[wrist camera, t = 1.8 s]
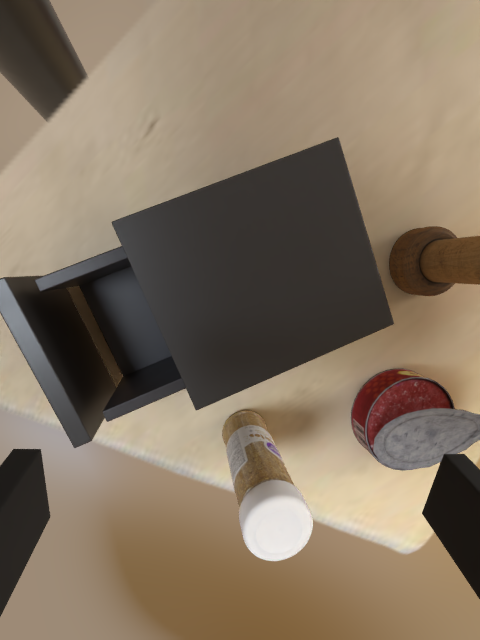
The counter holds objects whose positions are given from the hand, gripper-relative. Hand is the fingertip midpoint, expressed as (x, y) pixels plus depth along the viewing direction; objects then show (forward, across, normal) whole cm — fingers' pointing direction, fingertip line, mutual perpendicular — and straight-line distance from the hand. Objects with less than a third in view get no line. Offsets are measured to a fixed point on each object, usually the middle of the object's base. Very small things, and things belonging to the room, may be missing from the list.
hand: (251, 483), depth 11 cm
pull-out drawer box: (+20, -7, -1) cm, 21 cm away
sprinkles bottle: (+19, +3, -13) cm, 24 cm away
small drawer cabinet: (+22, +1, +2) cm, 22 cm away
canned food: (+21, +19, -11) cm, 30 cm away
